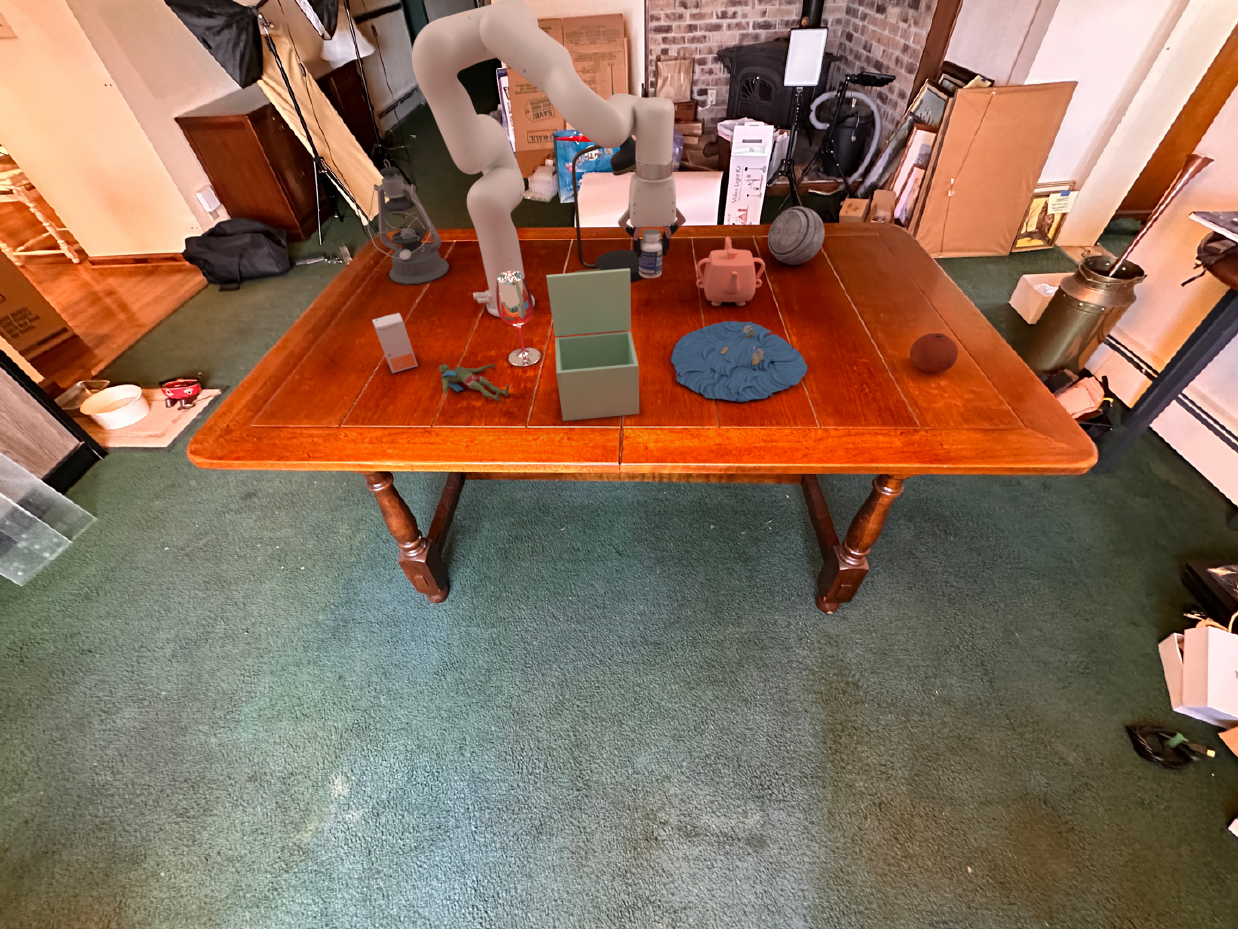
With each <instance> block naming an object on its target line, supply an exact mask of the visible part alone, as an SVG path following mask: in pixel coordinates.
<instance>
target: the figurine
mask: <svg viewBox="0 0 1238 929" xmlns="http://www.w3.org/2000/svg"><path fill="white" fill-rule="evenodd" d="M496 367H497V365H494V363H490V364H487V365H485V366H481V367H477V368H471V367H464V366H457V367H455V368H453V369H450V365H448V364H446V363H442V364H440V365H439V367H438V369H439V372H438V374H440V373H441V374H442V375H441V383H442V391H443V394H444V395H447V391H448V388H449V387H450V388H451V389H452V390H453V391H455V392H456V393H458V392H461V391H464V390H465V388H464V387H462V386H461V385H460V384H458V383H461V382H462V383H463V385H464V386H466V387H467V388H468V389H470V390H473V391H479V392H480V393H481V394H482V395H483V397H485V398H490V399H493V400H495V401H497V402H501V395H500V394H502V395H504V396H505V397H509V392H510V384H506V385H505V388H504V390H503V389H500V388H499V387H498V386H496V385H493V384H492V382H490V381H489V380H488V379H487V378H486V377H485V376H481V375H476V374H479V373H481V372H483V371H485V370H486V369H492V368H493V369H494V368H496ZM485 387H487V388H489V390H490V391H491V392H493V393H495V395H494V394H492V393H491V392H489V391H488V390H486V389H485Z"/></svg>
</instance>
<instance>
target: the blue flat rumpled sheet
mask: <svg viewBox="0 0 1238 929" xmlns="http://www.w3.org/2000/svg"><path fill="white" fill-rule="evenodd" d="M670 362H671V364H673V366H674V370H675V371H676V382H678V383H679V384H681V385H682V386H686V387H688V389H690V390H692V391H693V392H695V393H697V394H701V395H703V396H704V398H705V399H712V400H716V399H719V400H726V401H730V402H731V401H733V402H738V403H739V402H749V401H750V400H764V399H768V397H769V396H770V397H774V395H773V393H776V392H779V391H780V392H781V391H783V390H786V389H789V388H790V387H792V386H797V385H798V384H799V383H800V382H801V380H802V378H803V377H805V375H806V374H807V372H808V369H809V367H808V364H807V363H806V362H805V360H804V357H803V355H802V354H801V352H800V351H799V350H798V349H796V348H794V347H793V345H792V344H790V343H789V342H787V340H786V339H784V338H783V337H780V336H779V335H778V334H773V333H772V330H770V329H767V328H765V327H764V326H763V325H760V324H757V323H754V322H752V321H744V322H743V321H738V320H736V321H734V320H731V321H727V320H725V321H722V322H719V323H718V322H717V323H713V324H710V325H705V326H704V327H702V328H699V329H697V330H692V331H691V332H689V333H687V334H684V335H683V336H682V337H681V338H680V339H679V340H678V342H676V343H675V345H674V348H673V349H672V354H671V358H670Z"/></svg>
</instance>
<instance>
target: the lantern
mask: <svg viewBox="0 0 1238 929" xmlns="http://www.w3.org/2000/svg"><path fill="white" fill-rule="evenodd" d="M385 161H386V162H387V163H388V165H389V166H388V165H387V164H386V162H385ZM385 161H383V163H384V166H385V167H384V168H382V169H381V170H380V172H379V175H381V176H384V177H383V178H382V179H381V183H380V184H379V185H377V184H376V183H374V184H373V190H372V195H371V203H370V208H369V213H368V217H367V231H368V234H369V237H370V239H371V241H372V243H373V244H372V245H373V246H374V247H375V248H376V250H378V251H380V252H382V253H383V254H385V255H387V256H388V257H391V264H392V268H391V269H390V271H389V273H388V276H389V278H390V280H391V281H394V282H395V283H397V284H399V285H405V286H407V285H410V286H411V285H422V284H427V283H431V282H433V281H435V280H438V279H440V278H441V277H443V276H444V275H446V274H447V273H448V270H449V268H450V264H449V263H448V261H447V260H446V259H445V258H442V257H441V255H440V253H439V251H438V249H439V248H440V247H441V246H442V245H441V244H442V240H441V237H440V235H439V233H438V231H437V230H436V229H437V228H436V227H435V225H434V224H433V222H432V220H431V218H430V217H429V214H428V213H427V211H426V209H425V208H424V205H423V204H422V203H421V201H420V199H419V197H418V195H417V193H416V190H417V187H416V185H414V184H411V185H409V184H407V183H404V178H403V177H402V176H401V175H398V173H400V169H399V168H397V167H396V166H391V164H390V161H388V159H385ZM375 191H377V203H378V204H377V209H378V210H377V211H378V230H379V232H377V234H378V235H379V238H380V241H381V242H382V244H383V245H384V246H385V247H387V248H388V249H390V250H392V251H394V252H393V253H392V255H390V254H388V253H387V252H386V251H384V250H382V249H380V248H378V246H377V245H376V244H375V242H374V239H373V236H372V234H371V231H370V229H369V228H370V227H369V223H370V215H371V211H372V207H373V200H374V196H375V195H374V194H375ZM407 195H409V197H407ZM386 198H387V199H388V200H387V201H386ZM413 207H415V208H416V210H417V212H416V214H419V216H420V217H421V219H422V220H423V222H424V224H425V226H426V228H425V226H424V225H423V223H422V222H420V225H421V226H422V227H412V226H411V225H413V223H414V221H415V220H417V221H420V219H419V218H418V216H417V217H415V216H413V215H412V214H414V212H411V213H410V214H409V213H408V212H404V211H408V210H411V209H412V208H413ZM387 212H389V213H388V215H389V214H394V213H396V212H399V213H402V214H406V215H407V216H405V219H404V221H403V223H402V229H401V228H397V227H395V226H391V225H390V224H389V222H388V221H387ZM409 216H410V217H412V218H414V219H413V221H411V223H410V224H409V225H405V226H404V224H405V222H406V219H407V218H408V217H409ZM387 225H388V226H389V227H391V228H393V229H396V230H400V231H397V232H394V234H393V235H392V236H391V239H390V240H391V241H389V239H388V238H387V232H388V230H389V228H388V227H387ZM428 231H429V233H428ZM427 233H428V236H427V238H425V237H426V235H427ZM431 236H432V237H431ZM429 239H431V240H430V241H428V240H429ZM422 240H424V241H423V242H422ZM399 245H400V246H401V247H399Z"/></svg>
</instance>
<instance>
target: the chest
mask: <svg viewBox="0 0 1238 929" xmlns="http://www.w3.org/2000/svg"><path fill="white" fill-rule="evenodd" d="M554 343H555V344H554V346H555V347H554V348H555V369H556V379H557V387H558V395H559V400H560V408H561V415H562V422H568V421H579V420H587V419H588V420H589V419H599V418H609V417H610V418H611V417H617V416H618V417H620V416H631V415H640V370H639V369H640V368H639V362H638V361H639V360H638V357H637V352H636V349H635V348H636V347H635V344H634V340H633V334H632V331H631V330H624V331H613V332H601V333H590V334H578V335H567V336H555V338H554Z"/></svg>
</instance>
